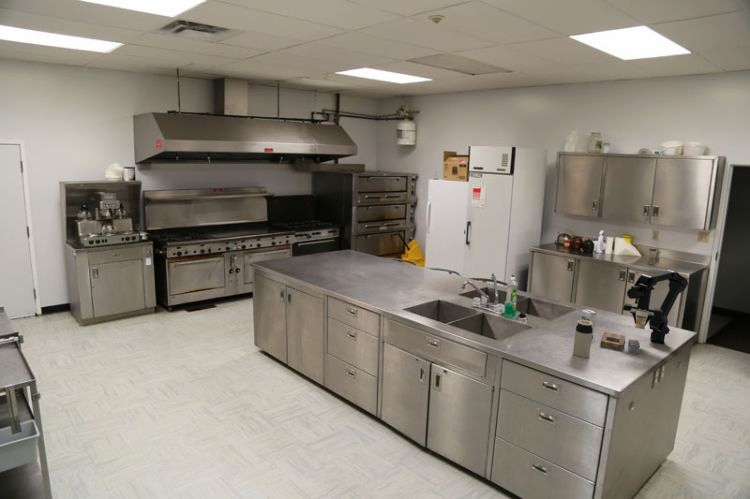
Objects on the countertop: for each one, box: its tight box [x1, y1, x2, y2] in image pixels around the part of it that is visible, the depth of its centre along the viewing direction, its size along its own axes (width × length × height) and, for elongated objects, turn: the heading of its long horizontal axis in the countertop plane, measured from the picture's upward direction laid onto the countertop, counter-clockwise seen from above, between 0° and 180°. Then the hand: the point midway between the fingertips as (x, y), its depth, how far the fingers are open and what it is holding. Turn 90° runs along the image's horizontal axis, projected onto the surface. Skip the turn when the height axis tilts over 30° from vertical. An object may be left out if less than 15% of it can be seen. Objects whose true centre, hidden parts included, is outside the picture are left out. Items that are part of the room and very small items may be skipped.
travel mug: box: [572, 319, 593, 359], centre depth 254 cm, size 8×8×18 cm
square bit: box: [634, 314, 647, 330], centre depth 270 cm, size 4×4×6 cm
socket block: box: [599, 331, 626, 352], centre depth 273 cm, size 11×17×3 cm, turn 149°
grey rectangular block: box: [627, 338, 640, 356], centre depth 263 cm, size 4×9×5 cm, turn 157°
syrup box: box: [580, 309, 597, 337], centre depth 283 cm, size 6×6×14 cm
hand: (640, 324), depth 270 cm, fingers closed on square bit, 4 cm apart
